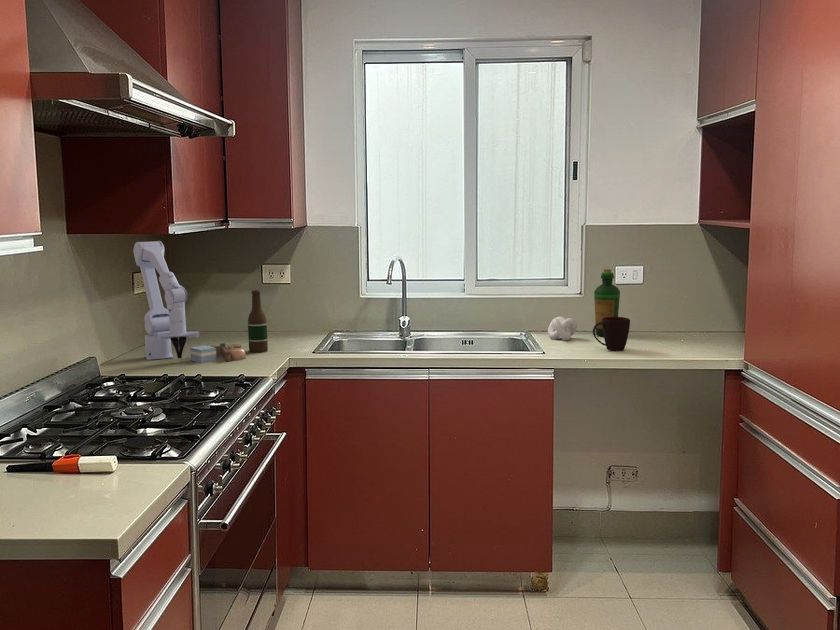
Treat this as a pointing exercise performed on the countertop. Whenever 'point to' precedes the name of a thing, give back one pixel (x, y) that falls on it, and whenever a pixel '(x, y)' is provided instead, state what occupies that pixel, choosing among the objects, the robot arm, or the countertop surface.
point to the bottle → (606, 300)
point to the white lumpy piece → (562, 328)
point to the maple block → (233, 346)
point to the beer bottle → (257, 326)
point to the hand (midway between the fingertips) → (179, 357)
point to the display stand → (223, 352)
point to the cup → (614, 332)
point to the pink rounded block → (237, 354)
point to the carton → (203, 354)
